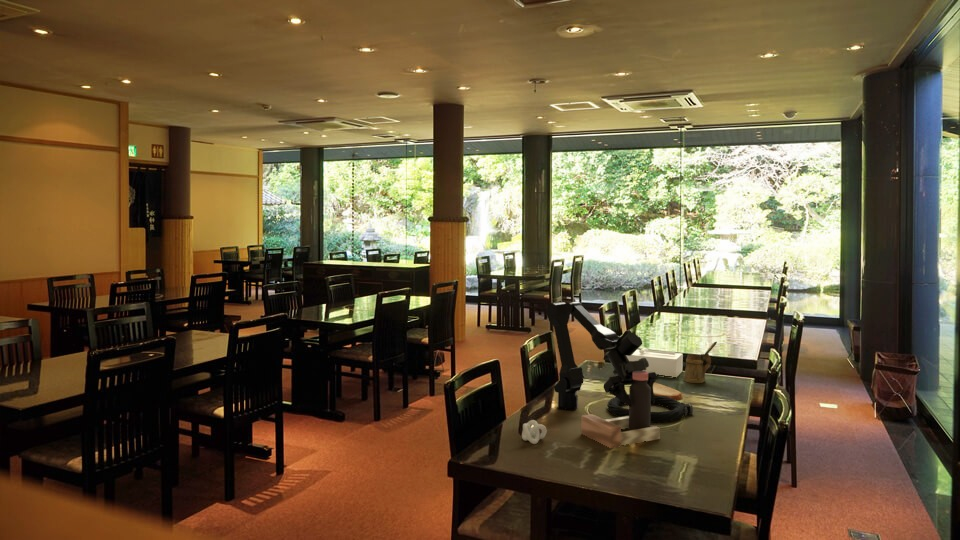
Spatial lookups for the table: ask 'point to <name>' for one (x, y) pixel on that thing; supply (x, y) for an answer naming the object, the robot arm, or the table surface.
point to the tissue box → (660, 361)
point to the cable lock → (675, 414)
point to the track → (615, 431)
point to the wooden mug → (697, 366)
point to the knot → (530, 431)
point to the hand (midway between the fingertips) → (642, 404)
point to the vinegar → (639, 401)
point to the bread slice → (666, 391)
